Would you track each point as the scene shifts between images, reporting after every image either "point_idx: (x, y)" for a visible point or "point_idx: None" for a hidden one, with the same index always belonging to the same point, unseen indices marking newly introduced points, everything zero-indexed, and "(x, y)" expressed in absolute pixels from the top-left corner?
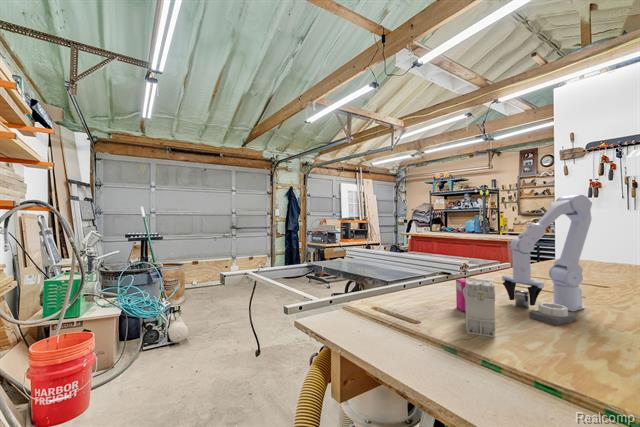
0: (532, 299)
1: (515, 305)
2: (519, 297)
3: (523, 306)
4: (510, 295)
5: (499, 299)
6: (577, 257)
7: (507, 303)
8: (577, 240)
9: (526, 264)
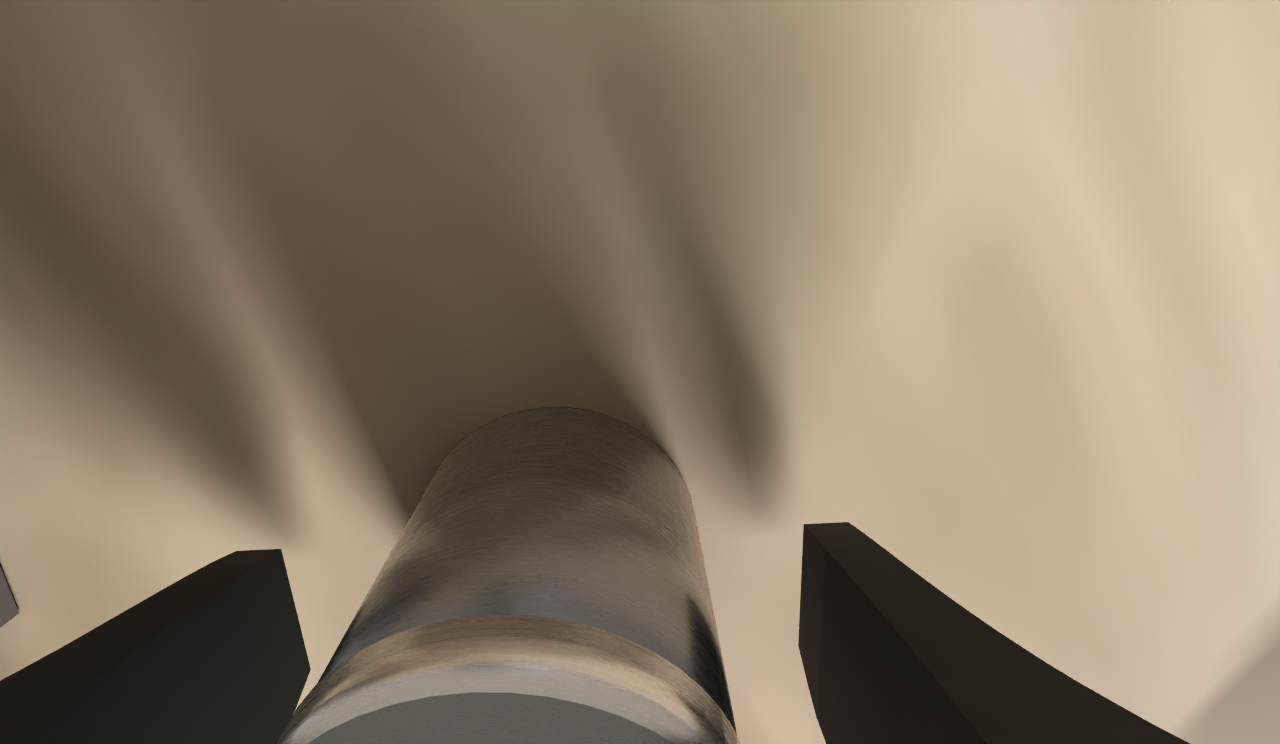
0: (38, 667)
1: (650, 443)
2: (468, 562)
3: (446, 467)
4: (858, 593)
5: (1152, 580)
6: None
7: (868, 452)
8: None
9: None
